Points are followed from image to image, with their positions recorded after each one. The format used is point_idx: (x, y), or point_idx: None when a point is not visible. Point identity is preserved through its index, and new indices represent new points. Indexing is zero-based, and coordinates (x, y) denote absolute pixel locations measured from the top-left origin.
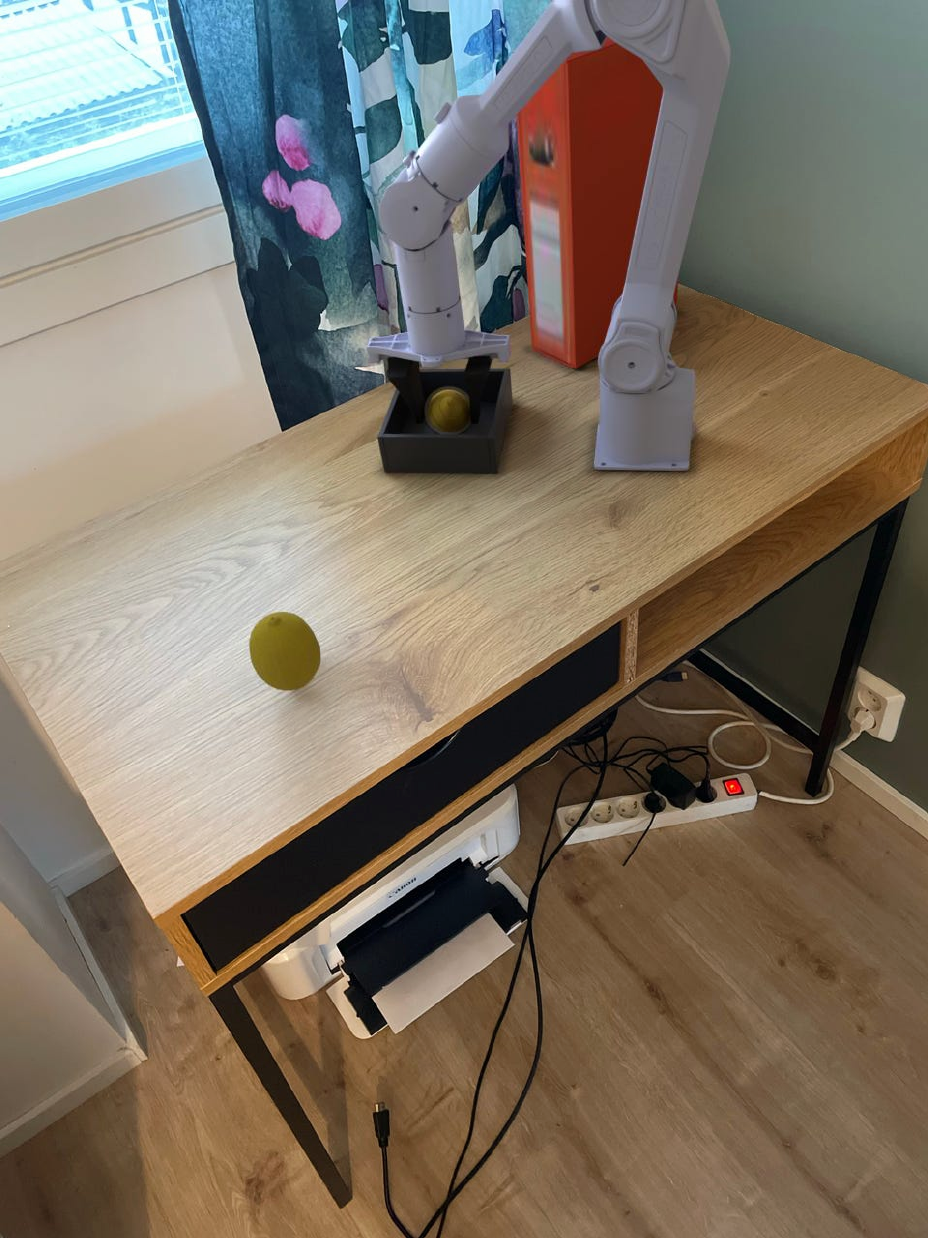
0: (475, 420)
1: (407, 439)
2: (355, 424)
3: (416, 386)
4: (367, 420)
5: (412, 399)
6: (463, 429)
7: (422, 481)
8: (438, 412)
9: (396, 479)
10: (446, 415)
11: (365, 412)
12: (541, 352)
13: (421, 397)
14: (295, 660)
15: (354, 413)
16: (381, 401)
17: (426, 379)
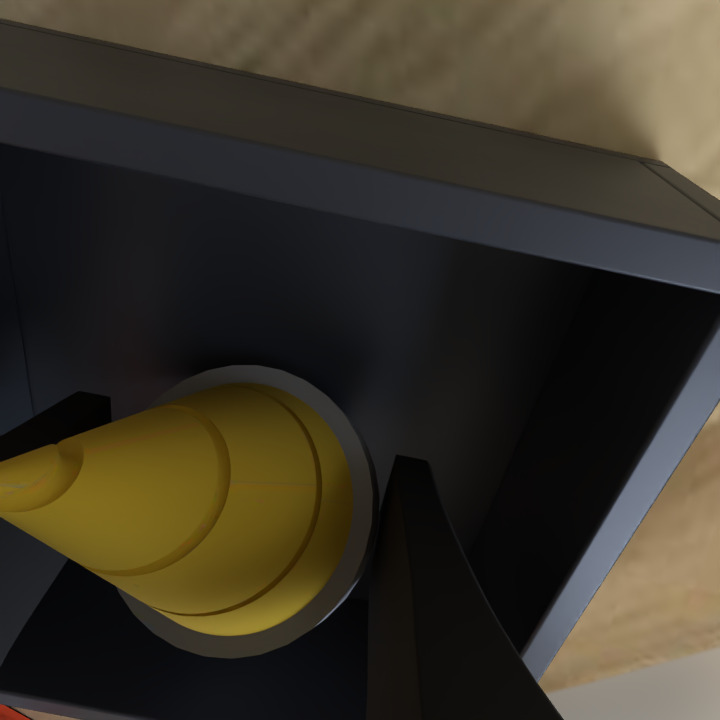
0: (69, 401)
1: (517, 192)
2: (708, 556)
3: (388, 699)
4: (648, 567)
5: (431, 595)
6: (180, 389)
7: (431, 13)
8: (254, 462)
9: (600, 70)
10: (188, 418)
11: (644, 609)
12: (15, 716)
13: (377, 611)
14: None
15: (692, 613)
16: (565, 646)
17: (361, 712)
